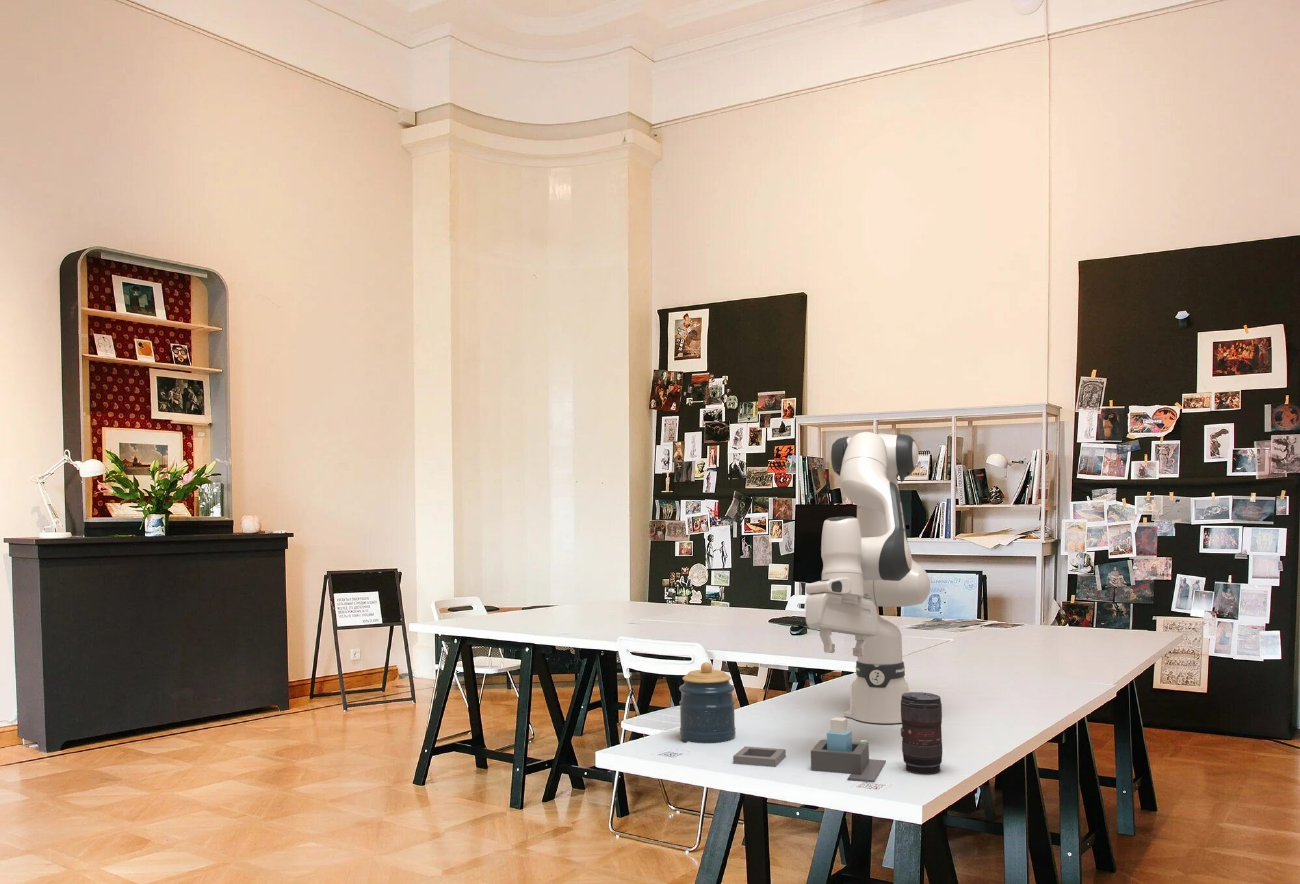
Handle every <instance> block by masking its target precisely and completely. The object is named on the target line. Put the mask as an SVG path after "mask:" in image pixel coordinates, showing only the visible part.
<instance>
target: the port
mask: <svg viewBox="0 0 1300 884" xmlns="http://www.w3.org/2000/svg"><path fill="white" fill-rule="evenodd" d="M869 751H870V748H869V742H868V741H867V740H866V739H864V740H863V739H861V740H860V741H859V742H857V741H852V752H850V751H836V750H827V739H820V740H819V741H818V742H817V743H816V744H815V745H814V747H813V748H812V749H811V750H810V771H813V772H822V773H823V772H825V773H835V774H836V773H837V774H845V775H846V774H847V775H848V774H849V777H848V778H847V779H846V781H853V782H866V783H875V781H876V780H877V778H878V777H879V775H880V773H881V771H882V770H883V768H884V766H885V765H886V763H887V760H884V759H876V758H875V759H874V758H870V752H869Z"/></svg>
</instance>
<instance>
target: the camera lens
mask: <svg viewBox="0 0 1300 884" xmlns="http://www.w3.org/2000/svg"><path fill="white" fill-rule="evenodd" d="M941 699H942V698H941V696H940V695H938V694H935V693H931V692H923V691H922V692H921V691H920V692H919V691H916V692H915V691H910V692H908V693H903V694H902V699H901V721H902V723H901V728H900V736H901V738H902V739H901V740H902V741H901V749H902V750H901V751H902V757H903V759H902V760H903V762H904V763H905V769H906V771H907V772H910V773H913V774H921V775H932V774H937V773H939V772H940V771H941V764H942V761H943V739H942V738H943V737H942V723H943V706H942V705H943V704H942V700H941Z"/></svg>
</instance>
